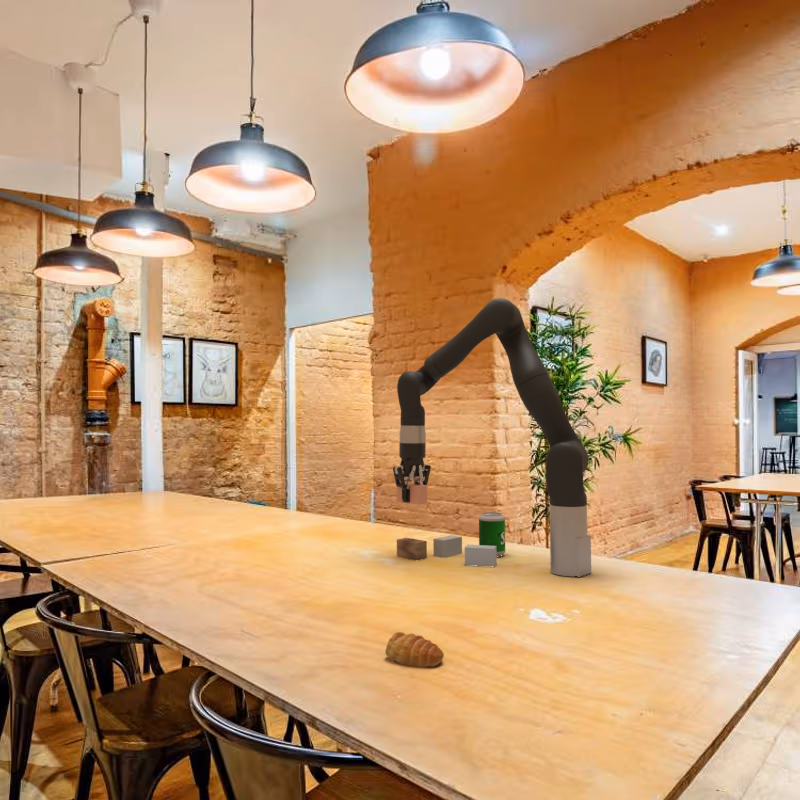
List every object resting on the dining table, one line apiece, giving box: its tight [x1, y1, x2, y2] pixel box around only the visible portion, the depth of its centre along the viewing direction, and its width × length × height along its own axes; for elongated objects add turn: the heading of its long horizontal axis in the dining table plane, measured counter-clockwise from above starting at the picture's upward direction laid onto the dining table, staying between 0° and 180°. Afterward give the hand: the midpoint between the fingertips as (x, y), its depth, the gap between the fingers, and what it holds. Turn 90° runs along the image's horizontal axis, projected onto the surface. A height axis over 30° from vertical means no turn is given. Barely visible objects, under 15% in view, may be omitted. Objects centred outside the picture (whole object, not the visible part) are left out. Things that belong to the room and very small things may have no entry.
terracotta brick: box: [396, 482, 428, 506], centre depth 180 cm, size 8×4×5 cm, turn 50°
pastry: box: [385, 631, 445, 668], centre depth 103 cm, size 9×7×4 cm
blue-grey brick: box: [464, 544, 498, 567], centre depth 170 cm, size 8×4×5 cm, turn 73°
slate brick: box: [432, 534, 463, 558], centre depth 184 cm, size 8×4×5 cm, turn 135°
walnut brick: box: [396, 537, 428, 561], centre depth 180 cm, size 8×4×5 cm, turn 45°
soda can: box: [478, 511, 506, 557], centre depth 183 cm, size 8×8×12 cm
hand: (411, 501), depth 180 cm, fingers closed on terracotta brick, 4 cm apart
